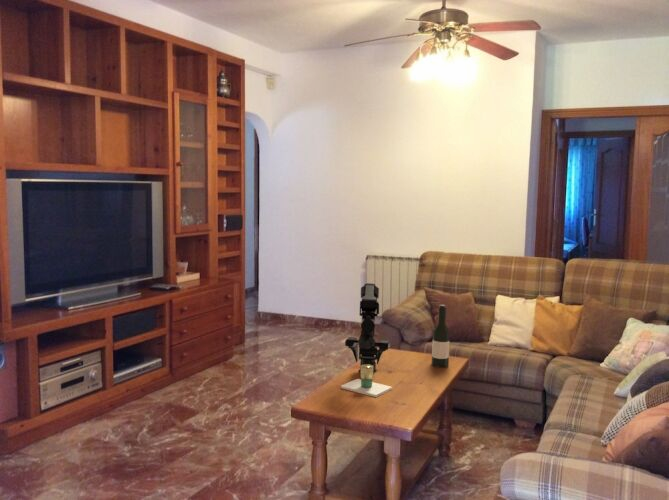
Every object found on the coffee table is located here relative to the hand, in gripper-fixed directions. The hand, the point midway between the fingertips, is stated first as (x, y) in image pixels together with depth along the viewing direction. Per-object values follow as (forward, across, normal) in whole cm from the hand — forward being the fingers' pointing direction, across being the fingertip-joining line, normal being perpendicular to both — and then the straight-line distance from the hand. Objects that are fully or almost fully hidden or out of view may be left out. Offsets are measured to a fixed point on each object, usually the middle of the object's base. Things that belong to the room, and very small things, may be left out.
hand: (367, 362), depth 266 cm
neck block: (+12, 0, 0) cm, 12 cm away
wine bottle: (+12, +27, +47) cm, 55 cm away
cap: (+7, 0, 0) cm, 7 cm away
